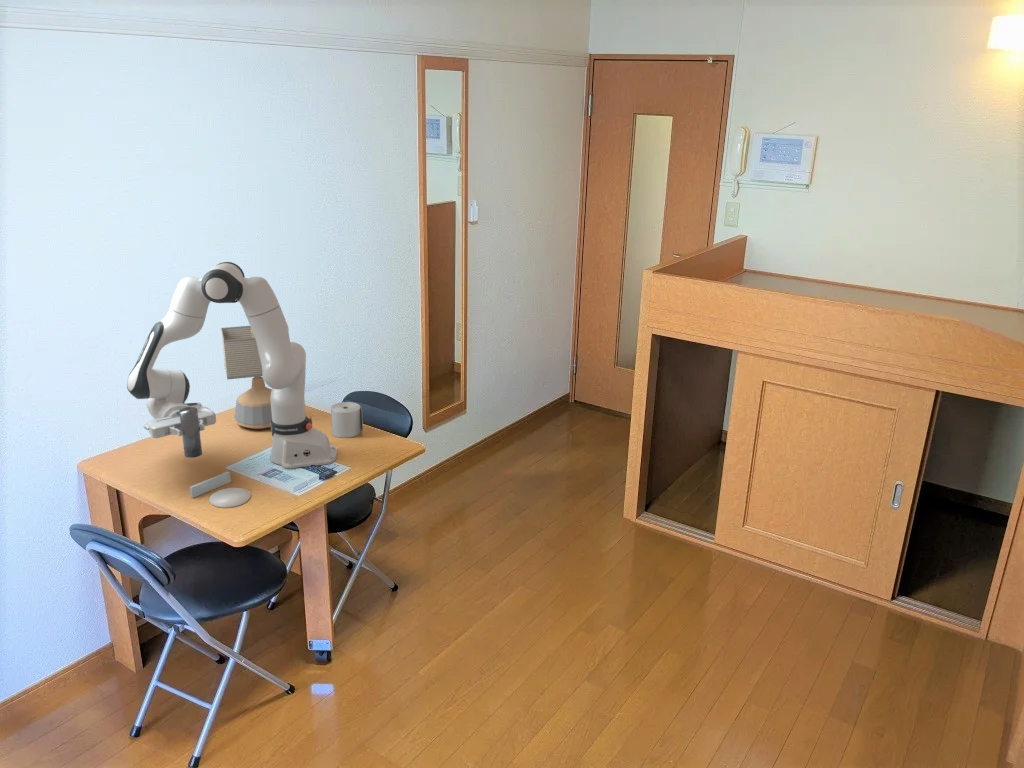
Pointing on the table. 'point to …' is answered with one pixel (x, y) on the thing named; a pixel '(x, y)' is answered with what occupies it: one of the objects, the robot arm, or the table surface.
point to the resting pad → (229, 497)
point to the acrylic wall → (210, 484)
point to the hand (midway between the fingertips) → (191, 430)
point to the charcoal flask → (190, 432)
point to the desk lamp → (244, 364)
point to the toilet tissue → (346, 419)
